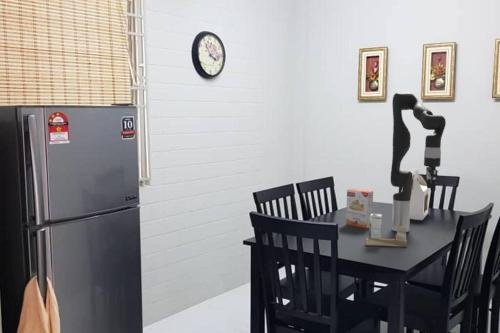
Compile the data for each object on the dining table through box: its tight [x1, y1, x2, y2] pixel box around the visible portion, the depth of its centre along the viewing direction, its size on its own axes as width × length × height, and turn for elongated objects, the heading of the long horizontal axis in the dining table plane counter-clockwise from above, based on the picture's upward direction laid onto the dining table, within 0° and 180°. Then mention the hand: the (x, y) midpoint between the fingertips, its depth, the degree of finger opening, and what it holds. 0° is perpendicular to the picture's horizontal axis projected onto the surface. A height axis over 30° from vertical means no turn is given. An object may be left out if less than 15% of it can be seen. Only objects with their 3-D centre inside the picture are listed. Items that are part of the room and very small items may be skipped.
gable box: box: [400, 170, 430, 221], centre depth 314 cm, size 22×13×28 cm, turn 153°
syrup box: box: [368, 213, 383, 239], centre depth 251 cm, size 6×6×14 cm
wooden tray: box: [365, 226, 408, 247], centre depth 254 cm, size 16×20×8 cm
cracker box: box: [345, 188, 374, 230], centre depth 287 cm, size 14×6×21 cm, turn 45°
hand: (430, 189), depth 246 cm, fingers open, 8 cm apart
